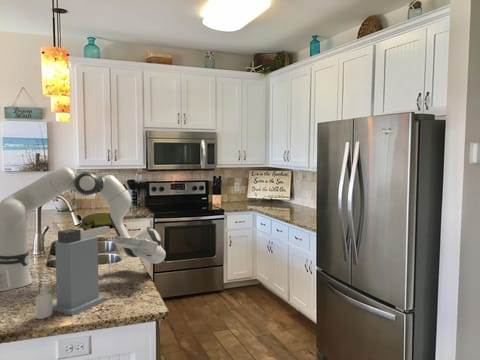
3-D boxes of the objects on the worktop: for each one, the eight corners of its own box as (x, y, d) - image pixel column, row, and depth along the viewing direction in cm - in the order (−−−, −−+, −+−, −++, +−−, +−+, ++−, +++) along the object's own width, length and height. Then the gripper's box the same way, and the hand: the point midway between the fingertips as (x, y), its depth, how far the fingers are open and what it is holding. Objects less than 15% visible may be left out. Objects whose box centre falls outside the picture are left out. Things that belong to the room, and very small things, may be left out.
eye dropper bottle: (35, 316, 142) (34, 283, 141) (51, 312, 145) (51, 281, 144) (36, 320, 138) (35, 287, 137) (53, 316, 141) (53, 284, 140)
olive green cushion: (127, 227, 307) (126, 215, 307) (85, 231, 292) (85, 218, 291) (116, 220, 338) (116, 209, 337) (78, 223, 322) (78, 212, 321)
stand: (84, 295, 162) (82, 233, 160) (105, 300, 157) (104, 237, 155) (50, 309, 148) (48, 241, 146) (72, 315, 142) (70, 245, 140)
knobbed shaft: (103, 231, 165) (102, 222, 165) (111, 232, 163) (111, 223, 163) (58, 242, 146) (57, 231, 145) (67, 243, 143) (67, 232, 143)
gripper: (127, 238, 190) (108, 229, 179) (161, 243, 181) (143, 233, 169) (122, 251, 187) (103, 242, 176) (156, 256, 178) (138, 247, 167)
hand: (123, 238), depth 173 cm, fingers open, 8 cm apart
